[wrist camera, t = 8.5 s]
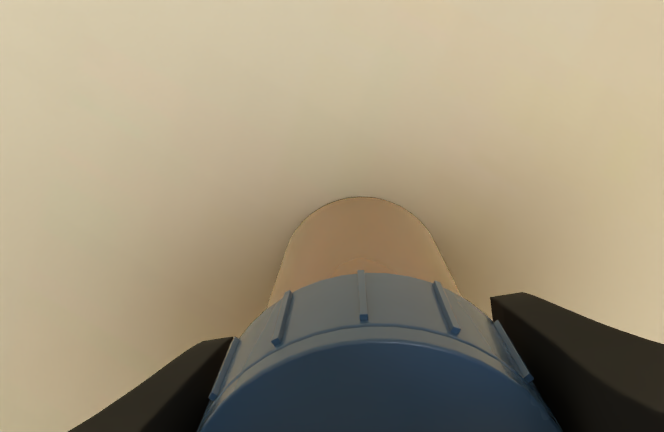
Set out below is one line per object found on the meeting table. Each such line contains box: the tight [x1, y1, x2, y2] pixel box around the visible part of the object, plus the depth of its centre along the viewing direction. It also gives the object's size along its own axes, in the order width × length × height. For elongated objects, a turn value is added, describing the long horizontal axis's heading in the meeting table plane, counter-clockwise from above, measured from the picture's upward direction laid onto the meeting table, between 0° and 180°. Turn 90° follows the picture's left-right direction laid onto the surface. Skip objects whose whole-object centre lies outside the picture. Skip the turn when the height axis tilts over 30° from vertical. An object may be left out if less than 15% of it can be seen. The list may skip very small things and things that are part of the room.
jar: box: [266, 197, 462, 309], centre depth 12 cm, size 4×4×8 cm
